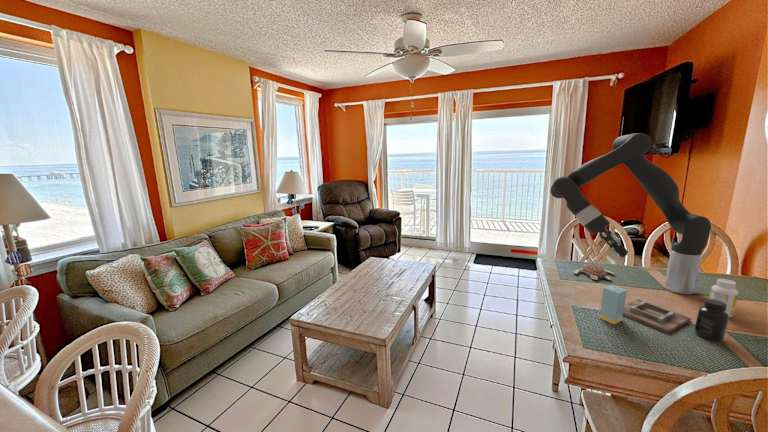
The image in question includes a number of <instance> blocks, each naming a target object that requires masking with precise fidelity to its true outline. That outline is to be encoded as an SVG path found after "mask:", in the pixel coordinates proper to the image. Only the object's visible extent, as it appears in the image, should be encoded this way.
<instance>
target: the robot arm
mask: <svg viewBox="0 0 768 432" xmlns="http://www.w3.org/2000/svg"><path fill="white" fill-rule="evenodd" d="M651 139H652V138H650V136H649V135H647V134H645V133H643V132H642V133H641V132H637V133H629V134H624V135H621V136H618V137H616V138H615V139H614V140H613V142H612V146H611V147H612V151H609V152H608V153H606V154H603V155H601V156H599V157H596V158H593V159H591V160H588V161H587V162H585V163H583V164H581V165H580V166H579V167H577V168H574V169H573V170H572V171H571V172H570V174H568V176H559V177H557V178H555V180H554V182H553V184H552V185H551V187H550V190H549V193H550V194H551V196H553V197H554V198H556V199H564V200H565V202H566V208H567V209H568V210H569V211H570V212H571V213H572V215H573V216H574V217H575V218H576V219H577V221H578V222H579V223H580V224H581V225H582V226H583V228H585V229H586V231H587V232H588V233H589V234H590V235H595V234H596V233H599V237H600V238H601V241H603V242H604V243H605V244H606V245H607V246H609V247H610V249H613V250H614V251H615V252H616V253H617V255H619V256H620V257H621V258H624V257H626V256H627V255H628V252H629V250H627V249H626V248H625V247H624V246H623V245H622V244H621V242H620V240H619V238H618V236H617V235H615V234H614V233H613V231H612V230H610V229H607V227H608V226H609V225H610V224H611V222H610V221H609V220H608V219H607V218H606V216H604V214H602V213H601V211H600V210H599V209H598V208H596V207H595V206H594V205H592V203H591V202H590V201H589V200H588V199H587V198H586V197H585V196H584V194H583V192H582V191H581V190H580V187H582V186H584V185H585V184H588V183H589V182H591V181H593V180H595V179H597V178H598V177H600V176H601V175H604V174H605V173H606V172H608V171H611V170H612V169H614V168H616V167H618V166H620V165H621V164H624V165H625V166H626V167H627V169H628V170H629V171H630V172H631V174H632V175H633V176H634V178H635V179H636V180H637V181H638V182H639V184H640V185H641V186H642V188H643V189H644V191H645V192H646V194H648V196H649V197H650V198H651V199H652V201H653V202H654V203H655V205H656V206H657V207H658V208H659V210H660V211H661V212H662V214H663V216H664V217H665V219H666V221H667V223H668V225H669V226H670V228H671V229H672V231H674V232H676V234H679V235H682V236H681V240H680V241H677V242H673V243H672V244H671V248H670V254H669V258H668V265H667V269H666V276H665V281H664V286H663V287H664V288H665V289H666V290H668V291H670V292H673V293H676V294H679V295H680V294H681V295H692V294H694V295H695V294H698V288H699V283H700V278H701V275H702V274H701V272H700V264H701V258H702V254H703V251H704V250H705V248H707V245H708V241H709V238H710V234H711V231H712V230H711V229H712V223H711V220H709V218H707V217H705V216H703V215H699V214H695V213H691V212H690V211H688V209H686V207H685V206H684V205H683V204H682V202H681V200H680V189H679V186H678V185H677V183H676V182H675V180H674V178H672V176H671V175H670V174H669V173H668V172H667V171H666V170H664V169H662V168H661V167H660V166H658V165H656V164H654V163H652V162H651V161H650V160H649V159H647V158H646V157H645V156H644V155H645V154H646V153H648V151H649V150H650V149H651V146H652V140H651Z"/></svg>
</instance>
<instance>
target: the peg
mask: <svg viewBox="0 0 768 432" xmlns="http://www.w3.org/2000/svg"><path fill="white" fill-rule="evenodd" d="M627 293H628V290H627V289H625V288H621V287H619V286H616V285H614V284H610V285H607V286H605V287H603V288H602V295H601V296H602V297H601V303H600V308H599V309H600V311H599V317H598V318H599V319H600V318H601V319H600V320H603V321H605V322H607V323H609V324H611V325H614V324H615V325H617V324H619V323H621V322H623V319H624V316H623V313H624V306H625V304H626V298H627ZM620 321H621V322H620Z"/></svg>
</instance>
